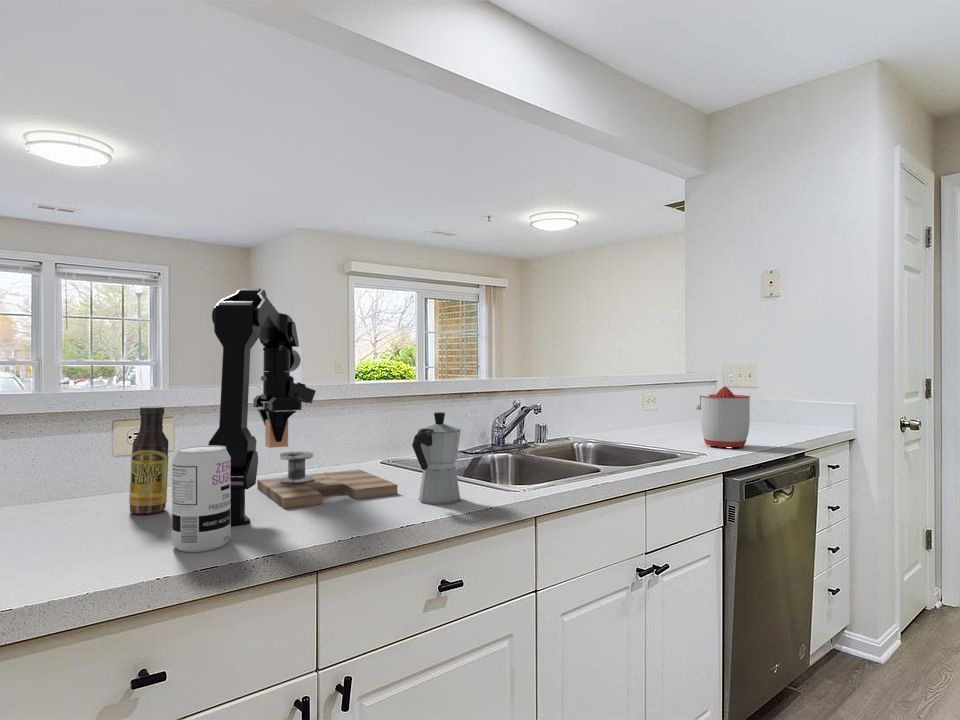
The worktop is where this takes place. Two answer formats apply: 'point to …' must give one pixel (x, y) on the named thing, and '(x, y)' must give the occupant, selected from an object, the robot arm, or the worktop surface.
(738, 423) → the citrus juicer
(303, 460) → the bobbin
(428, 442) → the coffee maker
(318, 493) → the board
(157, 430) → the sauce bottle
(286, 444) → the block
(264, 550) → the worktop surface
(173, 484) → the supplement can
